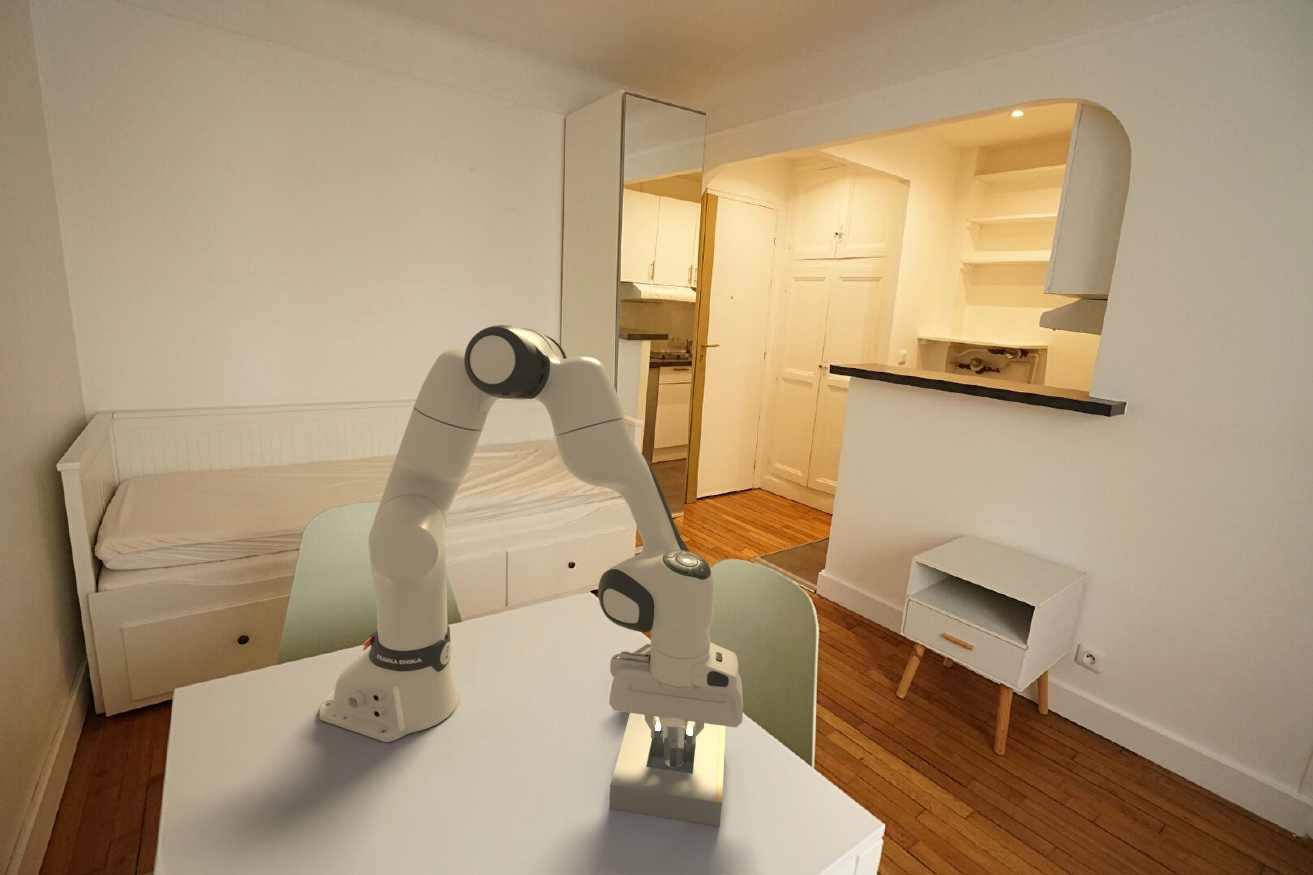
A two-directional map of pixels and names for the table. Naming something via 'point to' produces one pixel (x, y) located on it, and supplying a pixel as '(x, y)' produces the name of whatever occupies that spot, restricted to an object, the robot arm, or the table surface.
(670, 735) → the milkshake
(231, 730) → the table surface
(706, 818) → the socket block
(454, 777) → the table surface
